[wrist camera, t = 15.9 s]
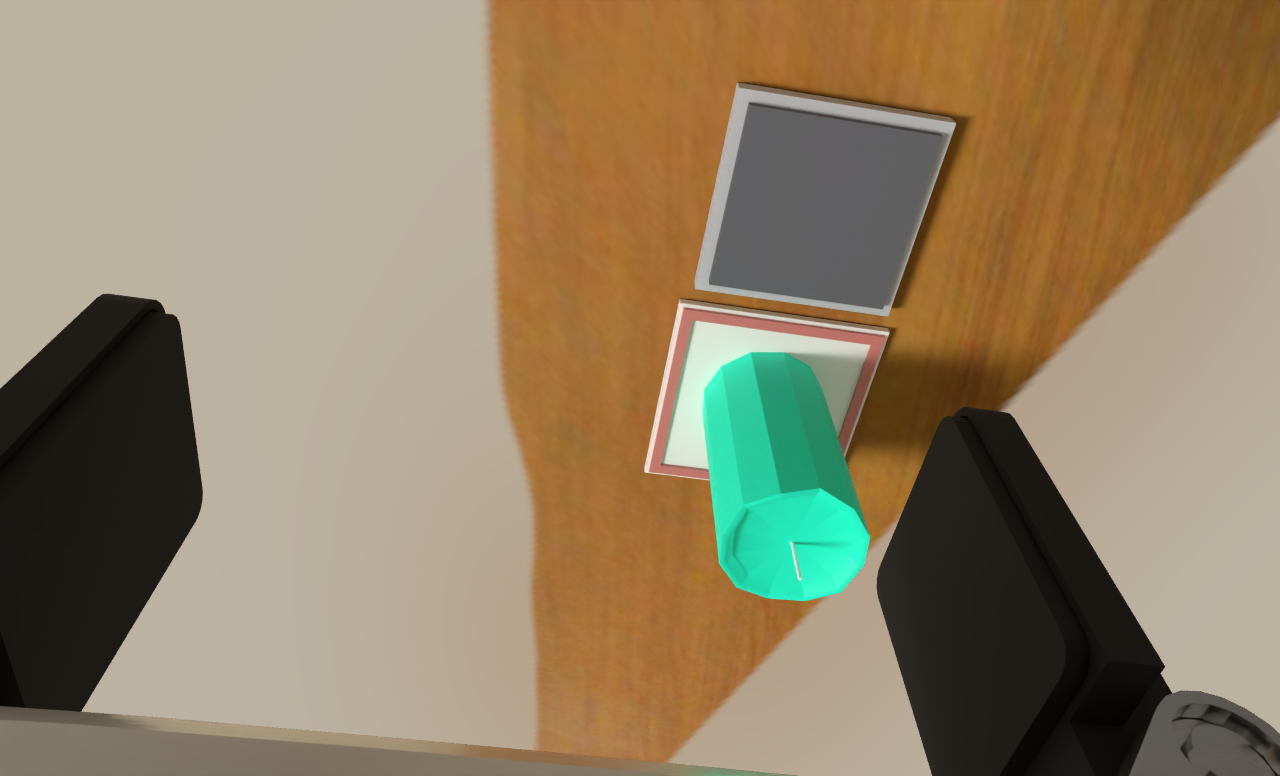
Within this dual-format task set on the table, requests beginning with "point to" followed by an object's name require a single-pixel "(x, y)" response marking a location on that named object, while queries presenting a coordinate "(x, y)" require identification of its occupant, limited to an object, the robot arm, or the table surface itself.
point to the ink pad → (819, 199)
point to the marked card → (731, 332)
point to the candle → (780, 481)
